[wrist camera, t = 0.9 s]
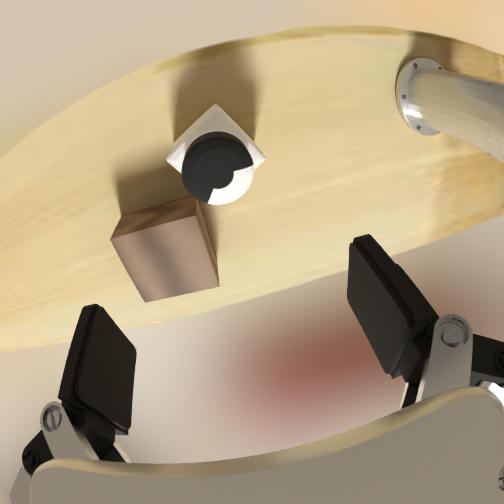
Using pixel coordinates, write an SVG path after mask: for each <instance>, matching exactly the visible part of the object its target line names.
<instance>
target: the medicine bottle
mask: <svg viewBox="0 0 504 504" xmlns="http://www.w3.org/2000/svg"><path fill="white" fill-rule="evenodd" d="M166 160H167V162H169V163H170V164H171V165H172V166H173V167H174V168H175V169H176V170H178V171H179V172H180V173H181V174H182V180H183V183H184V185H185V187H186V189H187V190H188V192H189V193H190V194H191V195H192V196H193V197H195V198H196V199H198V200H200V201H202V202H205V203H208V204H225V203H229V202H231V201H234V200H236V199H237V198H239V197H240V196H241V195H243V194H244V193H245V192H246V190H247V189H248V188H249V186H250V184H251V182H252V180H253V176H254V169H255V168H256V167H257V166H259V165H260V164H261V163H262V162H263V161H264V160H265V156H264V154H263V153H262V152H261V150H260V149H259V148H258V146H257V145H256V144H255V142H254V141H253V140H252V139H251V138H250V137H249V136H248V135H247V134H246V133H245V132H244V131H243V130H242V129H241V128H240V127H239V126H238V124H237V123H236V122H235V121H234V120H233V119H232V118H231V117H230V116H229V115H228V114H227V113H226V112H225V111H224V110H223V109H222V108H221V107H220V106H219V105H217V104H214V105H213V106H211V107H210V108H209V109H208V110H207V111H206V112H205V113H204V114H203V115H202V116H200V117H199V118H198V119H197V120H196V121H195V122H194V123H193V124H192V125H191V126H190V127H189V128H188V129H187V130H186V131H185V132H184V133H183V134H182V135H181V136H180V137H179V138H178V139H177V140H176V141H175V142H174V143H173V145H172V147H171V149H170V151H169V153H168V155H167V157H166Z"/></svg>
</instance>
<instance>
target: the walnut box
mask: <svg viewBox="0 0 504 504" xmlns="http://www.w3.org/2000/svg"><path fill="white" fill-rule="evenodd" d="M110 240H111V242H112V244H113V246H114V248H115V250H116V252H117V254H118V256H119V257H120V259H121V261H122V263H123V265H124V267H125V269H126V270H127V272H128V274H129V276H130V278H131V279H132V281H133V283H134V285H135V286H136V288H137V290H138V291H139V293H140V295H141V297H142V298H143V300H144V302H150V301H155V300H160V299H165V298H169V297H174V296H179V295H183V294H188V293H192V292H197V291H201V290H206V289H210V288H215V287H219V277H218V266H217V259H216V256H215V253H214V250H213V246H212V243H211V240H210V237H209V234H208V230H207V227H206V224H205V221H204V217H203V214H202V211H201V208H200V204H199V201H198V199H196V198H195V197H193V196H191V197H187V198H183V199H179V200H176V201H172V202H169V203H165V204H162V205H158V206H155V207H151V208H148V209H144V210H141V211H138V212H135V213H131V214H128V215H125V216H122V217H121V218H120V220H119V222H118V224H117V226H116V228H115V230H114V232H113V235H112V237H111V239H110Z"/></svg>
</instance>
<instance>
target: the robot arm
mask: <svg viewBox="0 0 504 504" xmlns="http://www.w3.org/2000/svg"><path fill="white" fill-rule="evenodd" d="M396 99H397V104H398V108H399V111H400V113H401V115H402V117H403V119H404V121H405V122H406V124H407V125H408V126H409V127H410V128H411V129H412V130H414V131H416V132H417V133H420V134H422V135H426V136H433V135H436V134H439V133H440V132H442V133H445V134H447V135H449V136H452V137H454V138H456V139H458V140H460V141H462V142H465V143H467V144H469V145H471V146H473V147H475V148H477V149H479V150H481V151H483V152H484V153H486V154H488V155H490V156H492V157H494V158H495V159H497V160H499V161H501V162H503V163H504V84H503V83H499V82H496V81H492V80H489V79H485V78H481V77H477V76H472V75H468V74H463V73H458V72H453V71H447V70H444V68H443V67H442V66H441V65H440V64H438V63H437V62H435V61H434V60H432V59H428V58H414V59H412V60H410V61H408V62H407V63H406V64H405V65H404V66H403V68H402V69H401V71H400V73H399V76H398V79H397V85H396ZM347 299H348V302H349V304H350V306H351V308H352V310H353V312H354V314H355V315H356V317H357V319H358V321H359V323H360V325H361V327H362V329H363V330H364V332H365V334H366V336H367V338H368V340H369V342H370V344H371V346H372V348H373V350H374V351H375V353H376V356H377V357H378V360H379V362H380V363H381V366H382V368H383V370H384V371H385V373H387V374H388V373H390V375H391V377H392V379H394V378H396V377H398V376H400V375H402V376H403V378H404V380H405V382H406V385H405V390H404V393H403V396H402V400H401V403H400V406H399V409H398V411H396V412H394V413H392V414H390V415H388V416H385V417H383V418H380V419H378V420H375V421H373V422H371V423H368V424H365V425H363V426H360V427H357V428H355V429H352V430H349V431H347V432H344V433H341V434H338V435H335V436H332V437H329V438H325V439H322V440H319V441H316V442H312V443H308V444H305V445H301V446H298V447H293V448H289V449H285V450H280V451H276V452H271V453H266V454H261V455H256V456H249V457H243V458H236V459H229V460H221V461H211V462H198V463H179V464H140V463H132V462H131V460H130V459H129V458H128V456H127V455H126V454H125V452H124V451H123V450H122V448H121V447H120V445H119V444H118V443H117V441H116V440H115V434H117V435H128V429H129V428H130V427H131V415H132V399H133V398H132V397H133V385H134V374H135V364H136V349H135V347H134V345H133V344H132V343H131V342H130V341H129V340H128V338H127V337H126V336H125V335H124V334H123V332H122V331H121V330H120V329H119V327H118V326H117V325H116V324H115V322H114V321H113V320H112V318H111V317H110V316H109V315H108V313H107V312H106V311H105V309H104V308H103V307H100V306H99V305H98V304H92V305H88V306H84V307H83V309H82V311H81V314H80V317H79V320H78V323H77V326H76V329H75V332H74V336H73V339H72V342H71V346H70V349H69V353H68V357H67V360H66V364H65V369H64V373H63V377H62V381H61V385H60V390H59V395H58V398H59V399H60V400H61V401H62V403H61V404H60V403H58V402H55V401H54V402H50V403H49V404H47V405H46V406H45V407H44V409H43V411H42V413H41V417H40V424H41V428H42V430H41V431H40V432H39V433H38V434H37V435H36V436H35V437H34V438H33V439H32V440H31V442H30V443H29V444H28V445H27V446H26V447H25V449H24V451H23V454H22V461H23V466H24V467H23V466H21V469H20V471H19V473H18V475H17V478H16V480H15V482H14V484H13V487H12V489H11V493H10V499H11V502H12V504H504V342H501V341H498V340H494V339H491V338H487V337H484V336H480V335H476V334H473V333H472V329H471V327H470V325H469V323H468V322H467V321H466V320H465V319H464V318H463V317H461V316H459V315H456V314H447V315H443V316H442V317H440V318H439V316H438V315H437V314H436V312H435V311H434V309H433V308H432V307H431V305H430V304H429V303H428V301H427V300H426V298H425V297H424V296H423V294H422V293H421V292H420V291H419V289H418V288H417V287H416V285H415V284H414V283H413V282H412V280H411V279H410V278H409V277H408V275H407V274H406V273H405V272H404V270H403V269H402V268H401V267H400V266H399V265H398V264H396V263H394V262H393V260H392V259H391V258H390V257H389V256H388V254H387V253H386V252H385V251H384V250H383V248H382V247H381V246H380V245H379V244H378V243H377V242H376V240H375V239H374V238H373V237H372V236H371V235H370V234H367V235H363V236H359V237H356V238H354V240H353V243H350V246H349V269H348V288H347Z"/></svg>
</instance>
